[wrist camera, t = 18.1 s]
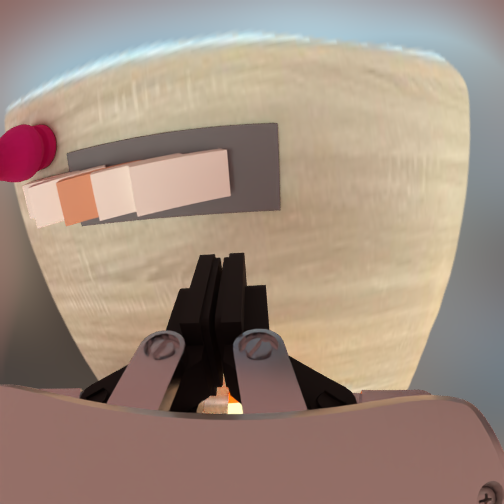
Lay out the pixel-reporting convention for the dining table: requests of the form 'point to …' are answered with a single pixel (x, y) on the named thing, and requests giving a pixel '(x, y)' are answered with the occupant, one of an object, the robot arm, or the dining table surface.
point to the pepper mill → (25, 151)
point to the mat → (195, 140)
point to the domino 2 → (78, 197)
